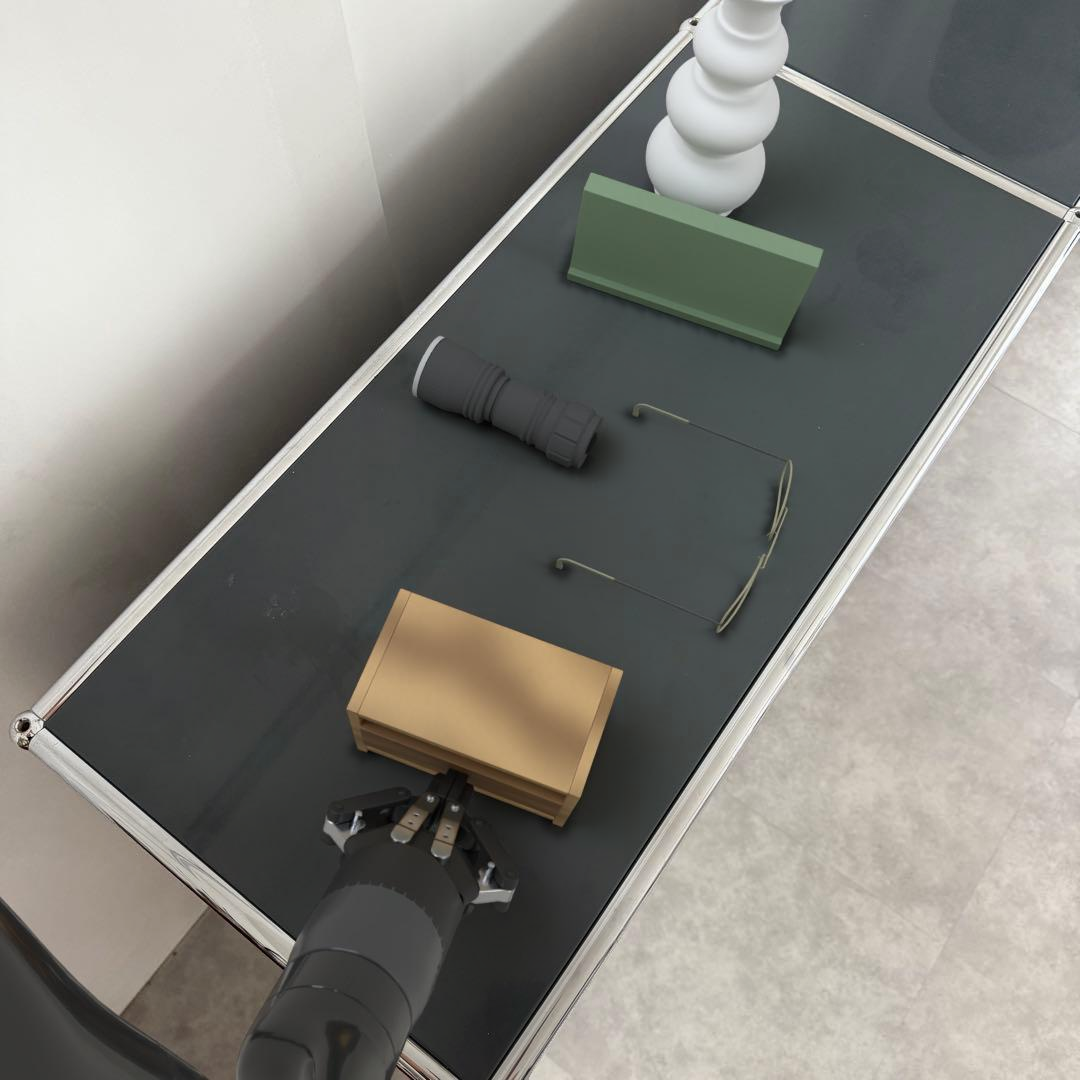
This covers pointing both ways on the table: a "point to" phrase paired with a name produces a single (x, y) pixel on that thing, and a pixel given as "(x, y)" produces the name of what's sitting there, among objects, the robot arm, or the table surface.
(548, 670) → the wooden drawer chest
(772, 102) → the vase
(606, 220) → the wall board
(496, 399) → the flashlight
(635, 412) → the eyeglasses
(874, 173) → the table surface
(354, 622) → the table surface
